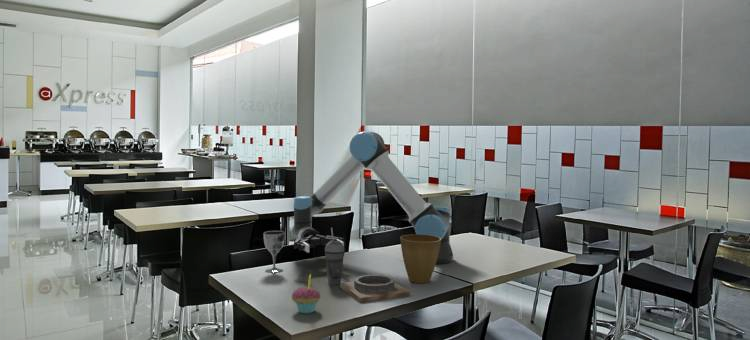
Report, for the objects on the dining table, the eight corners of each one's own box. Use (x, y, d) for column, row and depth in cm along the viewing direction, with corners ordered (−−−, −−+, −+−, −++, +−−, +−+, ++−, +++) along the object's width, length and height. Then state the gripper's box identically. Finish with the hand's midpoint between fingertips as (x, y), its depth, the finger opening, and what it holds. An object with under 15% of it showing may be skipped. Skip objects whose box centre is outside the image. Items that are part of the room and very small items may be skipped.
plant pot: (423, 289, 180) (423, 243, 179) (391, 280, 191) (391, 237, 190) (448, 280, 191) (449, 237, 190) (417, 273, 201) (417, 232, 200)
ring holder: (386, 281, 189) (387, 271, 189) (410, 295, 172) (410, 284, 172) (340, 287, 181) (340, 276, 181) (360, 302, 165) (360, 290, 165)
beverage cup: (341, 286, 183) (342, 230, 181) (321, 285, 184) (321, 229, 183) (346, 280, 190) (347, 226, 188) (327, 279, 191) (327, 225, 190)
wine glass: (259, 272, 201) (259, 233, 200) (270, 267, 208) (270, 230, 207) (278, 274, 198) (278, 235, 197) (288, 269, 206) (288, 231, 205)
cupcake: (326, 310, 157) (326, 271, 156) (304, 317, 151) (304, 277, 150) (307, 304, 163) (307, 266, 162) (285, 311, 157) (285, 271, 156)
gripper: (337, 243, 220) (356, 254, 200) (279, 248, 209) (293, 260, 190) (338, 226, 219) (356, 235, 200) (279, 230, 209) (293, 239, 190)
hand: (326, 247), depth 195 cm, fingers open, 13 cm apart
